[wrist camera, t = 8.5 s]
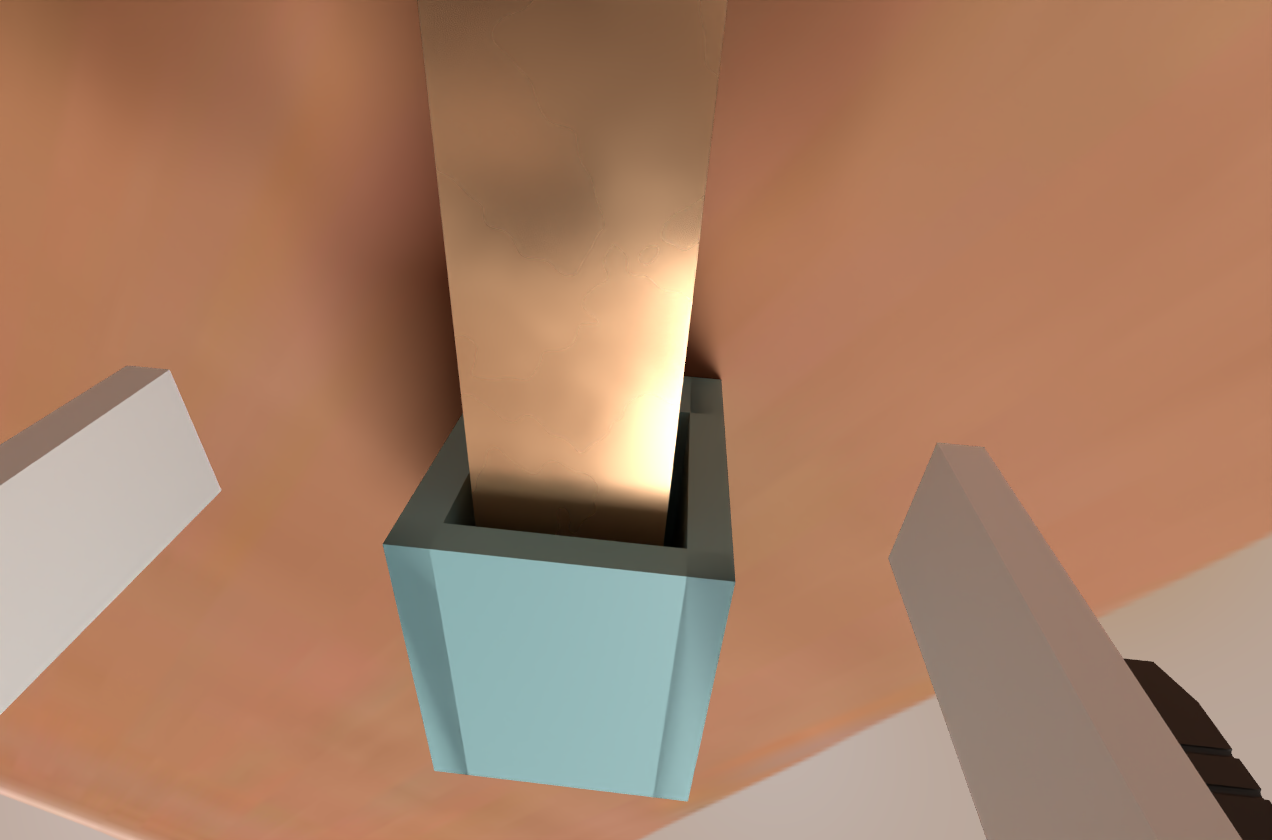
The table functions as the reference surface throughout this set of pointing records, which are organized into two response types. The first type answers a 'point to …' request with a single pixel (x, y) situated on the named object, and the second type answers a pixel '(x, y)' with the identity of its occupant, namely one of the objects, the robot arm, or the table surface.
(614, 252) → the tall peach post
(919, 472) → the table surface
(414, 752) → the table surface
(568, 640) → the socket
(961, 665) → the robot arm
